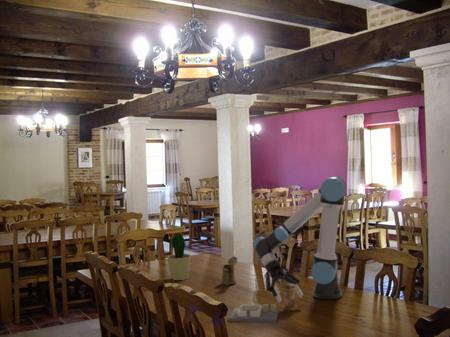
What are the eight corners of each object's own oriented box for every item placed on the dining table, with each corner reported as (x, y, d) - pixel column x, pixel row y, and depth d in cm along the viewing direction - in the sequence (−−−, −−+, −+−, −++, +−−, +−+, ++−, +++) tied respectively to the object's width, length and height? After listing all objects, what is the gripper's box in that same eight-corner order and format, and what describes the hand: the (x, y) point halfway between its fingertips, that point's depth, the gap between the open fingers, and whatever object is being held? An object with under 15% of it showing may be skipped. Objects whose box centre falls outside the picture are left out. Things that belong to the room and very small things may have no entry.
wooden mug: (228, 287, 286) (227, 257, 286) (218, 283, 299) (217, 254, 298) (241, 285, 290) (240, 255, 290) (231, 281, 303) (230, 252, 302)
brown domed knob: (297, 307, 243) (296, 283, 243) (296, 311, 236) (295, 286, 236) (284, 306, 244) (283, 283, 244) (283, 310, 238) (282, 286, 237)
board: (279, 311, 236) (278, 302, 236) (275, 322, 221) (275, 312, 221) (235, 310, 241) (234, 301, 241) (228, 321, 225) (228, 311, 225)
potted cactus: (193, 275, 322) (191, 230, 321) (189, 281, 306) (187, 234, 306) (170, 276, 323) (169, 231, 323) (165, 281, 308) (163, 234, 308)
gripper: (286, 264, 260) (306, 298, 248) (248, 271, 247) (268, 307, 234) (292, 256, 256) (313, 290, 243) (254, 262, 242) (274, 299, 230)
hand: (291, 298), depth 239 cm, fingers open, 13 cm apart
